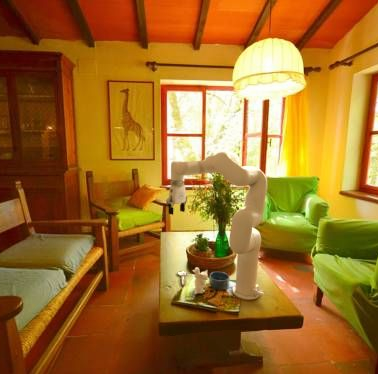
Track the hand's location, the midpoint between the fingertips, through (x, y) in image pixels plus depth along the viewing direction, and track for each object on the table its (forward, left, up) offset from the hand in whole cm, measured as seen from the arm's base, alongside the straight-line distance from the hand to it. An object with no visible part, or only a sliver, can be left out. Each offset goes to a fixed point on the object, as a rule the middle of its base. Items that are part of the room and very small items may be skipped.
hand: (176, 212), depth 145 cm
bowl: (-32, +3, -31) cm, 45 cm away
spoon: (-14, +10, -31) cm, 36 cm away
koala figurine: (-28, +14, -31) cm, 44 cm away
